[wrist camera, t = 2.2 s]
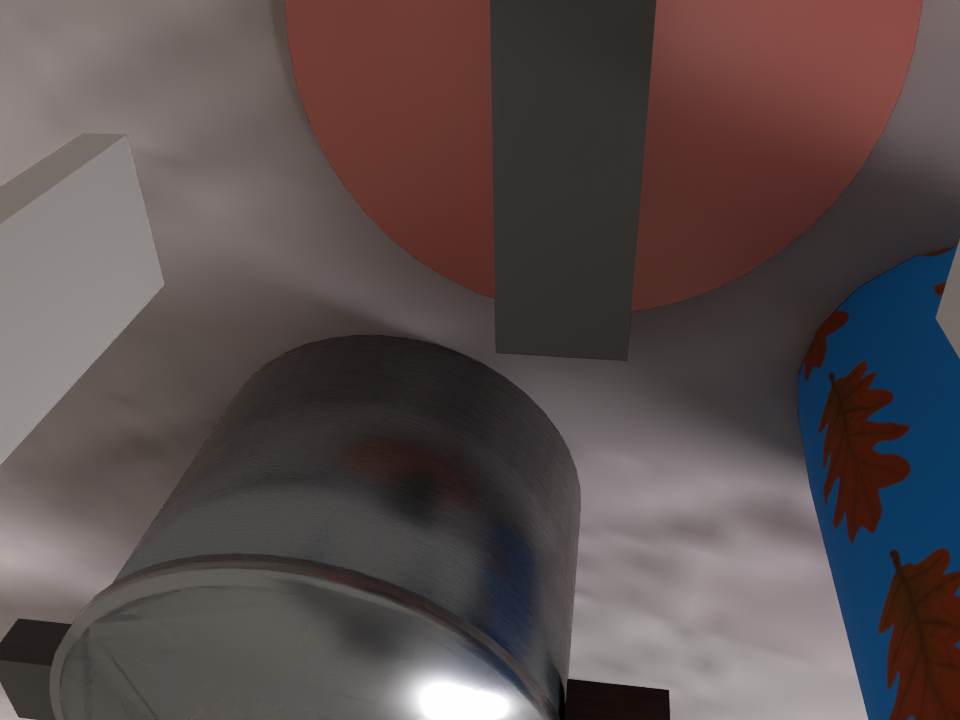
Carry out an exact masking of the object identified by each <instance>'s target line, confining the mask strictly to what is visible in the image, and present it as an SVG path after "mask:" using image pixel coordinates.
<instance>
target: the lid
mask: <svg viewBox="0 0 960 720" xmlns="http://www.w3.org/2000/svg"><path fill="white" fill-rule="evenodd" d="M921 8H922V0H285V9H286V22H287V35H288V44H289V49H290V54H291V59H292V64H293V69H294V74H295V79H296V83H297V86H298V89H299V92H300V95H301V99H302V102H303V105H304V108H305V111H306V114H307V117H308V120H309V122H310V124H311V126H312V128H313V130H314V133H315V135H316V137H317V139H318V141H319V143H320V146H321V148H322V150H323V152H324V154H325V156H326V157H327V159H328V160H329V162H330V164H331V165H332V167H333V169H334V170H335V172H336V174H337V175H338V177H339V178H340V180H341V182H342V183H343V185H344V186H345V187H346V189H347V190H348V191H349V193H350V194H351V195H352V196H353V198H354V199H355V200H356V201H357V203H358V204H359V205H360V207H361V208H362V209H363V210H364V212H365V213H366V214H367V215H368V216H369V217H370V218H371V219H372V220H373V221H374V222H375V223H376V224H377V225H378V226H379V227H380V228H381V229H382V230H383V231H384V232H385V233H386V234H387V235H388V236H389V237H390V238H391V239H392V240H394V241H395V242H396V243H397V244H398V245H400V246H401V247H402V248H403V249H405V250H406V251H407V252H408V253H410V254H411V255H412V256H413V257H415V258H416V259H417V260H419V261H420V262H422V263H424V264H425V265H427V266H428V267H430V268H431V269H433V270H435V271H436V272H438V273H439V274H441V275H443V276H444V277H446V278H448V279H450V280H452V281H454V282H456V283H458V284H460V285H462V286H464V287H466V288H468V289H471V290H473V291H475V292H477V293H480V294H483V295H486V296H488V297H491V298H494V299H495V329H496V353H503V354H520V355H537V356H554V357H571V358H588V359H604V360H621V361H627V358H628V345H629V333H630V321H631V312H634V311H643V310H648V309H652V308H656V307H660V306H665V305H669V304H673V303H678V302H681V301H683V300H686V299H689V298H692V297H695V296H698V295H700V294H703V293H706V292H709V291H712V290H714V289H716V288H718V287H720V286H722V285H724V284H726V283H728V282H730V281H732V280H734V279H736V278H739V277H741V276H743V275H745V274H746V273H748V272H750V271H751V270H753V269H754V268H756V267H757V266H759V265H761V264H762V263H764V262H765V261H767V260H768V259H770V258H772V257H773V256H775V255H776V254H778V253H779V252H780V251H782V250H783V249H784V248H785V247H787V246H788V245H789V244H790V243H791V242H793V241H794V240H795V239H796V238H798V237H799V236H800V235H801V234H803V233H804V232H805V231H806V230H808V229H809V228H810V227H811V226H812V225H813V224H814V223H815V221H816V220H817V219H818V218H819V217H820V216H821V215H822V214H823V213H824V212H825V211H826V210H827V209H828V208H829V207H830V206H831V205H832V204H833V203H834V202H835V201H836V200H837V199H838V197H839V196H840V195H841V194H842V192H843V191H844V190H845V188H846V187H847V186H848V185H849V183H850V182H851V181H852V179H853V178H854V177H855V176H856V174H857V173H858V172H859V170H860V169H861V168H862V166H863V164H864V163H865V161H866V159H867V158H868V156H869V155H870V153H871V151H872V150H873V148H874V146H875V145H876V143H877V141H878V140H879V138H880V136H881V135H882V133H883V131H884V129H885V127H886V125H887V122H888V120H889V118H890V116H891V113H892V111H893V109H894V107H895V104H896V102H897V100H898V98H899V96H900V93H901V91H902V88H903V84H904V81H905V78H906V75H907V71H908V68H909V65H910V62H911V58H912V55H913V52H914V48H915V43H916V37H917V31H918V25H919V20H920V14H921Z"/></svg>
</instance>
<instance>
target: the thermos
mask: <svg viewBox="0 0 960 720" xmlns="http://www.w3.org/2000/svg"><path fill="white" fill-rule="evenodd" d="M956 250H957V247H955V248H951V249H947V250H942V251H938V252H934V253H930V254H925V255H921V256H917V257H913V258H912V259H910V260H908V261H906V262H904V263H902V264H901V265H899V266H897V267H895V268H893V269H892V270H890V271H888V272H886V273H884V274H882V275H881V276H879V277H877V278H875V279H873V280H871V281H870V282H868V283H866V284H864V285H862V286H861V287H859V288H858V289H857V290H856V291H855V292H854V293H853V294H852V295H851V296H850V297H849V298H848V299H847V300H846V301H845V302H844V303H843V304H842V305H841V306H840V307H839V308H838V309H837V310H836V311H835V312H834V313H833V314H832V315H831V316H830V317H829V318H828V319H827V320H826V321H825V322H824V323H823V324H822V325H821V326H820V327H819V329H818V331H817V333H816V335H815V337H814V340H813V342H812V344H811V346H810V348H809V351H808V353H807V355H806V357H805V359H804V361H803V364H802V366H801V368H800V370H799V389H798V416H799V422H800V428H801V435H802V441H803V447H804V453H805V459H806V465H807V471H808V478H809V484H810V489H811V493H812V497H813V501H814V505H815V509H816V513H817V517H818V521H819V525H820V529H821V533H822V537H823V541H824V545H825V549H826V553H827V557H828V561H829V565H830V569H831V572H832V576H833V580H834V584H835V588H836V592H837V596H838V600H839V604H840V608H841V612H842V616H843V620H844V624H845V628H846V632H847V636H848V640H849V644H850V648H851V652H852V656H853V660H854V664H855V668H856V672H857V676H858V680H859V684H860V687H861V691H862V695H863V699H864V703H865V707H866V711H867V715H868V719H869V720H960V358H959V357H958V355H957V353H956V352H955V350H954V348H953V347H952V345H951V343H950V342H949V340H948V338H947V336H946V335H945V333H944V331H943V330H942V328H941V326H940V325H939V323H938V321H937V320H936V315H937V312H938V309H939V305H940V302H941V299H942V295H943V292H944V289H945V286H946V282H947V279H948V276H949V273H950V269H951V266H952V263H953V259H954V256H955V253H956Z"/></svg>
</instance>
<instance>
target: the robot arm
mask: <svg viewBox="0 0 960 720" xmlns="http://www.w3.org/2000/svg"><path fill="white" fill-rule="evenodd" d="M164 285H165V283H164V279H163V275H162V271H161V267H160V263H159V259H158V255H157V252H156V248H155V244H154V240H153V236H152V232H151V228H150V224H149V220H148V216H147V212H146V208H145V204H144V200H143V196H142V192H141V189H140V185H139V181H138V177H137V173H136V169H135V165H134V161H133V157H132V153H131V149H130V145H129V141H128V137H127V135H121V134H82V135H80V136H78V137H77V138H75V139H74V140H72V141H71V142H69V143H68V144H66V145H65V146H63V147H61V148H60V149H58V150H57V151H55V152H54V153H52V154H51V155H49V156H48V157H46V158H45V159H43V160H41V161H40V162H38V163H37V164H35V165H34V166H32V167H31V168H29V169H28V170H26V171H25V172H23V173H21V174H20V175H18V176H17V177H15V178H14V179H12V180H11V181H9V182H8V183H6V184H4V185H3V186H1V187H0V465H1V464H2V463H3V462H4V461H5V460H6V459H7V457H8V456H9V455H10V454H11V453H12V452H13V451H14V450H15V449H16V448H17V446H18V445H19V444H20V443H21V442H22V441H23V440H24V439H25V438H26V437H27V435H28V434H29V433H30V432H31V431H32V430H33V429H34V428H35V427H36V426H37V424H38V423H39V422H40V421H41V420H42V419H43V418H44V417H45V416H46V415H47V414H48V412H49V411H50V410H51V409H52V408H53V407H54V406H55V405H56V404H57V403H58V401H59V400H60V399H61V398H62V397H63V396H64V395H65V394H66V393H67V392H68V390H69V389H70V388H71V387H72V386H73V385H74V384H75V383H76V382H77V381H78V379H79V378H80V377H81V376H82V375H83V374H84V373H85V372H86V371H87V370H88V368H89V367H90V366H91V365H92V364H93V363H94V362H95V361H96V360H97V359H98V357H99V356H100V355H101V354H102V353H103V352H104V351H105V350H106V349H107V348H108V346H109V345H110V344H111V343H112V342H113V341H114V340H115V339H116V338H117V337H118V336H119V334H120V333H121V332H122V331H123V330H124V329H125V328H126V327H127V326H128V325H129V323H130V322H131V321H132V320H133V319H134V318H135V317H136V316H137V315H138V314H139V312H140V311H141V310H142V309H143V308H144V307H145V306H146V305H147V304H148V303H149V301H150V300H151V299H152V298H153V297H154V296H155V295H156V294H157V293H158V292H159V290H160V289H161V288H162V287H163V286H164ZM936 320H937V321H938V323H939V325H940V326H941V328H942V330H943V331H944V333H945V335H946V336H947V338H948V340H949V342H950V343H951V345H952V347H953V348H954V350H955V352H956V353H957V355H958V357H959V358H960V240H959V243H958V246H957V250H956V253H955V256H954V259H953V263H952V266H951V269H950V273H949V276H948V279H947V282H946V286H945V289H944V292H943V295H942V299H941V302H940V305H939V309H938V312H937V315H936Z"/></svg>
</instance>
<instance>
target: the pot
mask: <svg viewBox="0 0 960 720" xmlns="http://www.w3.org/2000/svg"><path fill="white" fill-rule="evenodd" d="M580 512H581V495H580V485H579V480H578V475H577V470H576V467H575V464H574V462H573V459H572V457H571V454H570V451H569V449H568V447H567V445H566V444H565V442H564V440H563V438H562V437H561V435H560V433H559V431H558V430H557V428H556V427H555V426H554V425H553V423H552V422H551V421H550V419H549V418H548V417H547V415H546V414H545V413H544V412H543V411H542V410H541V409H540V408H539V407H538V406H537V405H536V404H535V403H534V401H533V400H532V399H531V398H530V397H529V396H528V395H527V394H525V393H524V392H523V391H521V390H520V389H519V388H518V387H516V386H515V385H514V384H513V383H511V382H510V381H509V380H507V379H506V378H505V377H503V376H501V375H500V374H498V373H496V372H495V371H493V370H492V369H490V368H488V367H487V366H485V365H483V364H481V363H479V362H477V361H475V360H473V359H471V358H468V357H466V356H464V355H462V354H460V353H457V352H454V351H451V350H448V349H446V348H443V347H440V346H437V345H434V344H430V343H425V342H421V341H416V340H412V339H408V338H399V337H390V336H382V335H354V336H346V337H337V338H330V339H326V340H322V341H318V342H314V343H310V344H306V345H304V346H301V347H299V348H296V349H294V350H291V351H289V352H286V353H284V354H283V355H281V356H279V357H278V358H276V359H274V360H272V361H271V362H269V363H267V364H266V365H265V366H264V367H262V368H261V369H260V370H259V371H258V372H256V373H255V374H254V375H253V376H252V377H251V378H250V379H249V380H248V381H247V382H246V383H245V385H244V386H243V387H242V388H241V389H240V390H239V392H238V393H237V395H236V396H235V398H234V399H233V401H232V402H231V404H230V405H229V407H228V408H227V410H226V412H225V413H224V415H223V416H222V418H221V419H220V421H219V422H218V424H217V425H216V427H215V428H214V430H213V431H212V433H211V434H210V436H209V437H208V439H207V440H206V442H205V443H204V445H203V446H202V448H201V450H200V451H199V453H198V454H197V456H196V457H195V459H194V460H193V462H192V463H191V465H190V466H189V468H188V469H187V471H186V472H185V474H184V475H183V477H182V478H181V480H180V481H179V483H178V485H177V486H176V488H175V489H174V491H173V492H172V494H171V495H170V497H169V498H168V500H167V501H166V503H165V504H164V506H163V507H162V509H161V510H160V512H159V513H158V515H157V516H156V518H155V519H154V521H153V523H152V524H151V526H150V527H149V529H148V530H147V532H146V533H145V535H144V536H143V538H142V539H141V541H140V542H139V544H138V545H137V547H136V548H135V550H134V551H133V553H132V554H131V556H130V557H129V559H128V561H127V562H126V564H125V565H124V567H123V568H122V570H121V571H120V573H119V574H118V576H117V577H116V579H115V580H114V582H113V583H112V584H111V585H109V586H108V587H107V588H105V589H104V590H103V591H101V592H100V593H99V594H97V595H96V596H95V597H94V598H93V599H92V600H91V601H90V602H89V603H88V604H87V606H86V607H85V608H84V609H83V610H82V611H81V612H80V614H79V615H78V617H77V618H76V620H75V621H74V623H73V624H64V623H55V622H46V621H37V620H28V619H18V620H17V621H16V622H15V624H14V625H13V626H12V628H11V629H10V631H9V632H8V633H7V635H6V636H5V637H4V639H3V640H2V641H1V643H0V682H1V684H2V686H3V688H4V690H5V692H6V694H7V696H8V698H9V700H10V702H11V704H12V706H13V707H14V709H15V711H16V713H17V715H18V717H19V718H27V719H35V720H670V705H669V690H664V689H655V688H646V687H637V686H628V685H618V684H609V683H600V682H591V681H582V680H573V679H568V673H569V660H570V646H571V633H572V620H573V606H574V593H575V579H576V566H577V553H578V539H579V526H580Z"/></svg>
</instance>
